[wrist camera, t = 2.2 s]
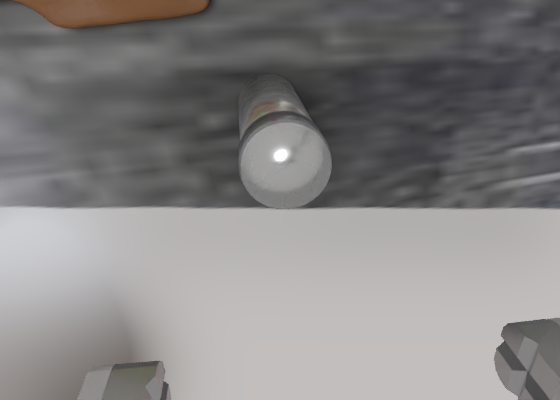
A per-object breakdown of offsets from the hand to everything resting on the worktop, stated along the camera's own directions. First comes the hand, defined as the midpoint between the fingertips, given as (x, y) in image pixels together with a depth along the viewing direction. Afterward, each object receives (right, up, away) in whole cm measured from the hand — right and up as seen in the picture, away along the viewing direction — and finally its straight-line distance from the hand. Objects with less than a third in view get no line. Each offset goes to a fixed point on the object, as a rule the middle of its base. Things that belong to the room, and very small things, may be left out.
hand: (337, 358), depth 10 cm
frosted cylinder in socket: (-2, +11, +20) cm, 23 cm away
